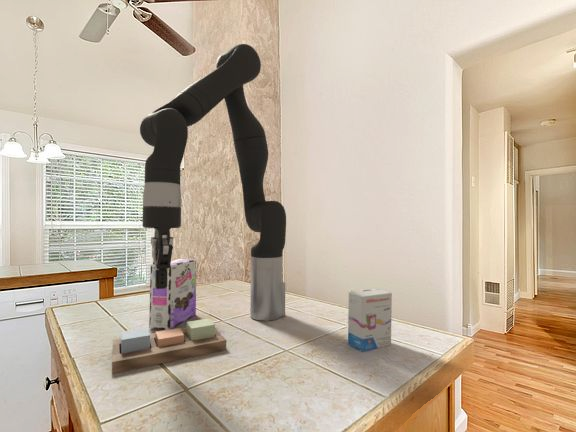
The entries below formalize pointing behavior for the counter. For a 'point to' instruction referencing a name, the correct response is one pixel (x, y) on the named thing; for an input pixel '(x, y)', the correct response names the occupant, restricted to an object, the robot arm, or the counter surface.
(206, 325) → the sage tile
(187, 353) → the button board
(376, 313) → the ink box
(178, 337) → the terracotta tile
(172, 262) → the candy box
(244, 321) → the counter surface
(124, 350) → the squat grey square block
